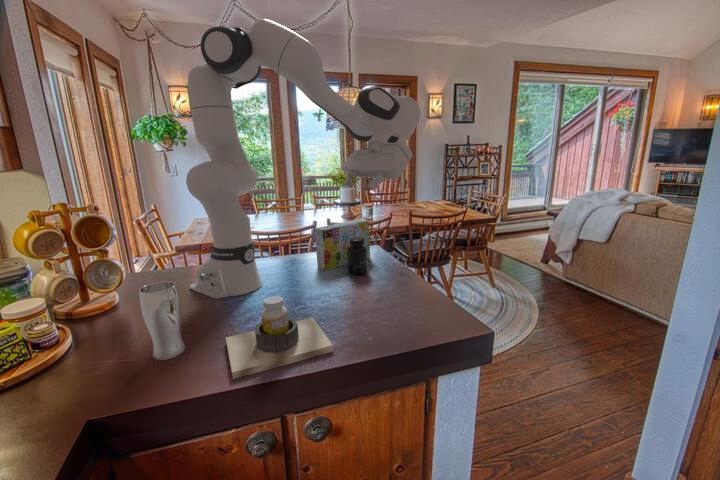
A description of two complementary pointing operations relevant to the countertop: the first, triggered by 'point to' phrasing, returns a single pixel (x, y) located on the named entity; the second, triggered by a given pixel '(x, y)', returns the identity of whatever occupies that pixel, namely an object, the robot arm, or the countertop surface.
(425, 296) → the countertop surface
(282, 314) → the supplement bottle
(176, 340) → the beer glass
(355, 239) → the supplement bottle
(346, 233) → the snack box
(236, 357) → the collar stand
